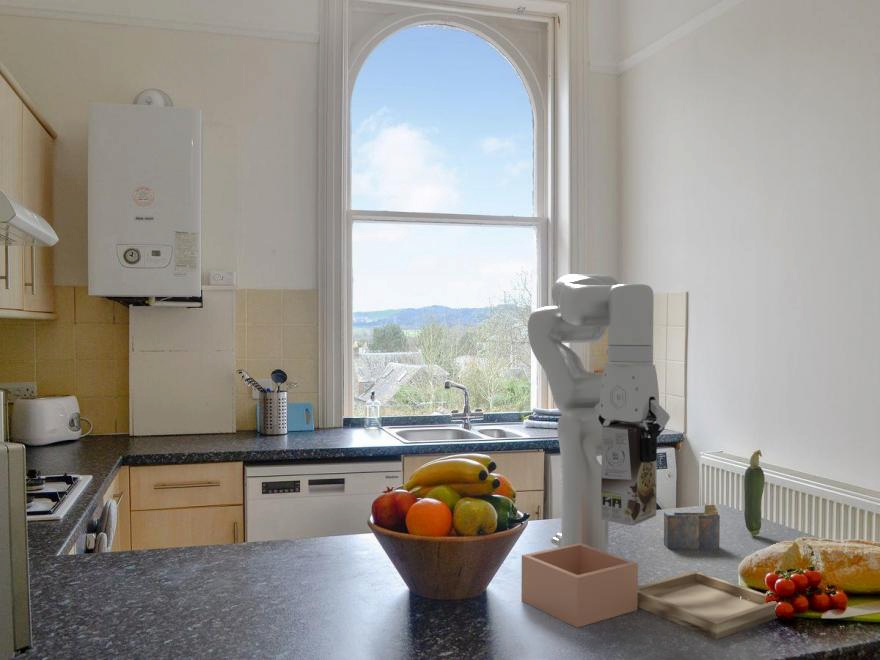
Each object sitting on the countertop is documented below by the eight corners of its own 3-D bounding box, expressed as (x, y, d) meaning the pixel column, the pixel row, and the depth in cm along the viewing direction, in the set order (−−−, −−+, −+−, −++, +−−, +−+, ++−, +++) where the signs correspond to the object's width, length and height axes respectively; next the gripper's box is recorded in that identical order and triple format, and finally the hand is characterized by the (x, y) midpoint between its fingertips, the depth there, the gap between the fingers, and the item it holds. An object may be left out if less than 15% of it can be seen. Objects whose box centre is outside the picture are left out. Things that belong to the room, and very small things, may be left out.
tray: (628, 603, 130) (628, 588, 130) (695, 584, 140) (695, 570, 140) (716, 639, 115) (716, 623, 115) (784, 615, 125) (784, 600, 125)
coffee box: (634, 526, 123) (635, 429, 123) (599, 520, 127) (600, 425, 127) (658, 516, 130) (658, 423, 130) (624, 510, 134) (624, 420, 134)
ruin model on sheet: (734, 538, 172) (734, 496, 172) (764, 560, 156) (764, 514, 156) (625, 537, 172) (625, 495, 172) (644, 559, 156) (644, 513, 156)
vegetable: (739, 533, 175) (740, 448, 175) (754, 531, 176) (755, 447, 176) (752, 538, 171) (753, 451, 170) (768, 537, 172) (769, 450, 172)
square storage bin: (521, 600, 131) (521, 555, 131) (579, 585, 139) (580, 542, 139) (577, 627, 120) (577, 577, 120) (637, 609, 127) (637, 563, 127)
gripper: (580, 354, 134) (579, 452, 134) (652, 358, 119) (651, 468, 119) (611, 353, 138) (610, 448, 138) (685, 357, 123) (684, 464, 123)
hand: (629, 457), depth 128 cm, fingers closed on coffee box, 8 cm apart
